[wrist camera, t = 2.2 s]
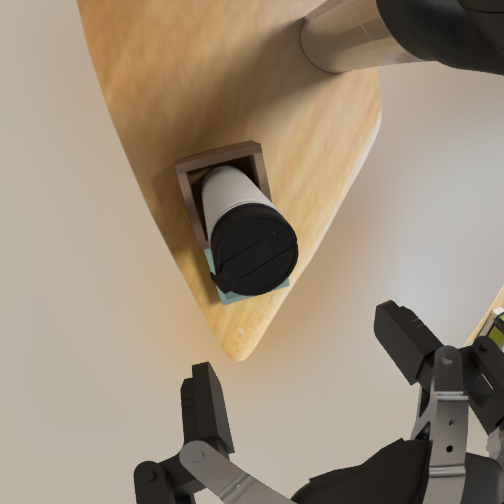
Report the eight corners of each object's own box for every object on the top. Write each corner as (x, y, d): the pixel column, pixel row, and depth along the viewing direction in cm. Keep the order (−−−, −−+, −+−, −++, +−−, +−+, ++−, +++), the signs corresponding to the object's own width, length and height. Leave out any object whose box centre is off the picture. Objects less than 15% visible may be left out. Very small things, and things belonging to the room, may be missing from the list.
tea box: (485, 332, 86) (504, 351, 73) (476, 337, 84) (495, 358, 71) (500, 305, 79) (520, 324, 66) (492, 309, 77) (513, 330, 64)
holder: (176, 159, 33) (174, 166, 28) (251, 140, 33) (260, 143, 29) (198, 234, 38) (200, 250, 34) (266, 215, 39) (276, 229, 34)
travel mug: (189, 181, 34) (189, 253, 17) (233, 155, 34) (282, 199, 17) (214, 219, 37) (238, 315, 20) (256, 194, 37) (316, 271, 20)
